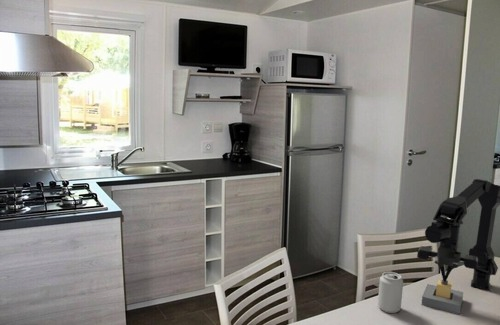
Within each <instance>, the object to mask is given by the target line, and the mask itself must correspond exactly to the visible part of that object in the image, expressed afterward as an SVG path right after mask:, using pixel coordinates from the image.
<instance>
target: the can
mask: <svg viewBox="0 0 500 325" xmlns="http://www.w3.org/2000/svg"><path fill="white" fill-rule="evenodd" d="M381 274H382V275H381V276H380V277H379V286H378V287H379V288H378V297H377V306H378V307H379V308H380V310H382V311H383V312H385V313H387V314H388V313H389V314H395V313H398V312H399V311H400V310H402V299H403V289H404V288H403V287H404V280H403V279H402V278H403V277H402V275H401V274H399V273H397V272H394V271H385V272H383V273H381Z"/></svg>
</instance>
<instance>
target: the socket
mask: <svg viewBox="0 0 500 325" xmlns="http://www.w3.org/2000/svg"><path fill="white" fill-rule="evenodd" d="M436 288H437V285H434V284H429V283H427V284H426V286H425V289H424V292H423V294H422V296H421V305H422V306H424V307H428V308H429V307H430V308H432V309H437V310H440V311H441V310H442V311H445V312H449V313H453V314H458V315H460V314H461V309H462V305H463V300H464V299H463V298H464V291H462V290H461V291H460V290H456V289H452V288H451V296H450V299H446V298H442V297H437V296H436Z"/></svg>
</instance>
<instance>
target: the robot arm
mask: <svg viewBox="0 0 500 325" xmlns="http://www.w3.org/2000/svg"><path fill="white" fill-rule="evenodd" d="M476 200H477V201H478V202H479V204H480V207H481V209H480V215H479V221H478V228H477V234H476V235H477V236H476V241H475V245H474V246H473V247H472V248H471V247H470V248H469V250H468V254H465V256H462V255H461V254H462V252H460V251H458V247H459V237H460V229H461V225H463V224H464V221H463V219H464V218H465V216H466V215H467V214H468V208H469V207H470V206H471V205H472V204H473V203H474V202H475V201H476ZM499 207H500V185H498V184H494V183H492V182H490V181H489V180H486V179H481V178H474V179H473V180H472V182H471V184H469V185H468V186H467V187H466V188H465V189H463V190H462V191H461V192H460V193H459V194H458V195H457V196H453V197H449V198H446V199H444V200H443V201H442V202H441V203H440V204H439V207H438V209H437V211H436V212H435V215H434V216H433V221H431V225H429V226H427V227H426V229H425V230H424V235H425V236H424V237H425V238H426V240H427V241H428V242H429V243H431V244H432V243H433V244H437V243H439V246H438V248H437V251H432V250H433V249H432V247H428V246H422V245H421V246H420V247H419V248H418V250H417V255H416V257H417V258H418V259H422V260H429V258H430V257H431V258H434V264H436V265H437V266H438V267H439V270H440V273H441V277H442V280H443V281H446V280H447V281H448V278H449V275H450V274H451V272H452V270H453V269H454V268H458V267H459V264H460V263H461V264H463V266H464V267H465V268H467V269H471V270H472V269H473V274H472V275H473V276H472V279H471V282H470V287H473V288H477V289H481V290H485V291H491V282H490V281H491V276H496V274H497V272H498V269H499V267H498V265H497V263H496V261H495V253H494V251H493V248H492V241H493V232H494V225H495V221H496V220H495V219H496V213H497V209H498V208H499ZM446 266H447V268H446Z"/></svg>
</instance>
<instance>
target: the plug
mask: <svg viewBox="0 0 500 325" xmlns="http://www.w3.org/2000/svg"><path fill="white" fill-rule="evenodd" d="M436 286H437V288H436V296H437V297H442V298H446V299H450V296H451V289H452V288H453V287H452V286H453V282H449V280H448V279H447V280H446V281H443V279H441V280H440V279H438V280H437V282H436Z"/></svg>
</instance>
